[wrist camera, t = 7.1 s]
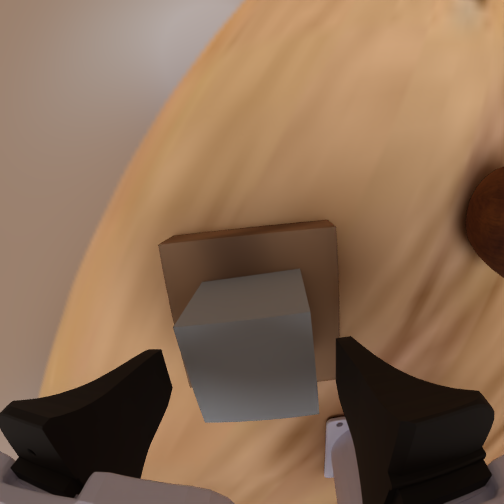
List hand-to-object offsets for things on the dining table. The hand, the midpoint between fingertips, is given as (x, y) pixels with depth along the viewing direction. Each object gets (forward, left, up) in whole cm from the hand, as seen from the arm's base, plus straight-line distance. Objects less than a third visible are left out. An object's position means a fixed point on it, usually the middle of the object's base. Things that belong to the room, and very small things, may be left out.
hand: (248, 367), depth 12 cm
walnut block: (0, 0, -8) cm, 8 cm away
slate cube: (0, 0, -4) cm, 4 cm away
